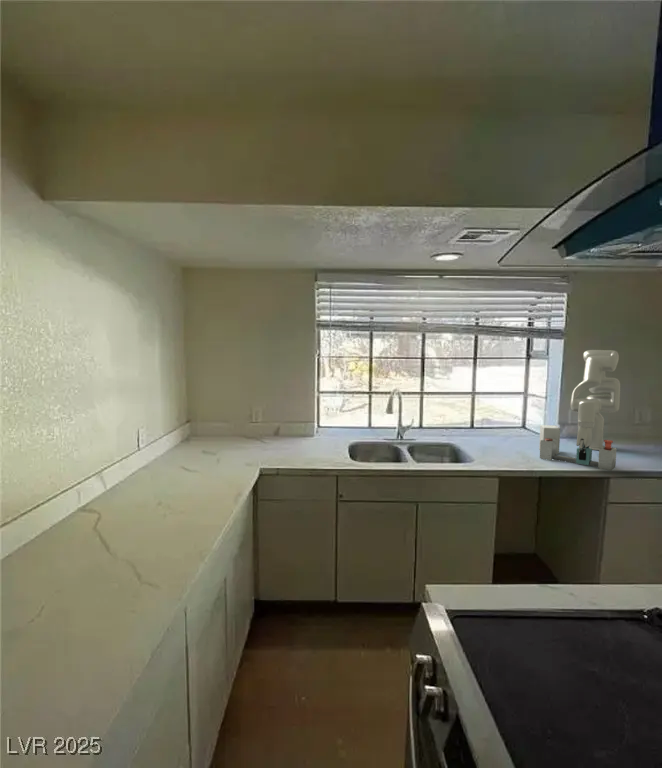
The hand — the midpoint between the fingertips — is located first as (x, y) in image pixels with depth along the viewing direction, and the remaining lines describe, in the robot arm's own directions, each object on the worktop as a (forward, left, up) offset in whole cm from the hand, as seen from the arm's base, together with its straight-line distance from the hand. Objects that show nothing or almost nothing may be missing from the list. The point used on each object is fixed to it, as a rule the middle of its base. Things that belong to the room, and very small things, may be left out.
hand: (583, 458), depth 244 cm
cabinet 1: (0, -18, -3) cm, 18 cm away
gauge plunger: (0, +11, +7) cm, 13 cm away
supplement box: (-14, -22, -3) cm, 26 cm away
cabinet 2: (0, +11, -3) cm, 11 cm away
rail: (0, -4, -3) cm, 5 cm away
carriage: (0, 0, -3) cm, 3 cm away
